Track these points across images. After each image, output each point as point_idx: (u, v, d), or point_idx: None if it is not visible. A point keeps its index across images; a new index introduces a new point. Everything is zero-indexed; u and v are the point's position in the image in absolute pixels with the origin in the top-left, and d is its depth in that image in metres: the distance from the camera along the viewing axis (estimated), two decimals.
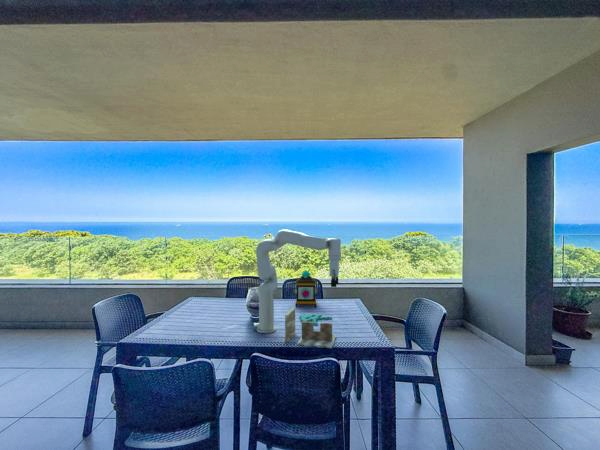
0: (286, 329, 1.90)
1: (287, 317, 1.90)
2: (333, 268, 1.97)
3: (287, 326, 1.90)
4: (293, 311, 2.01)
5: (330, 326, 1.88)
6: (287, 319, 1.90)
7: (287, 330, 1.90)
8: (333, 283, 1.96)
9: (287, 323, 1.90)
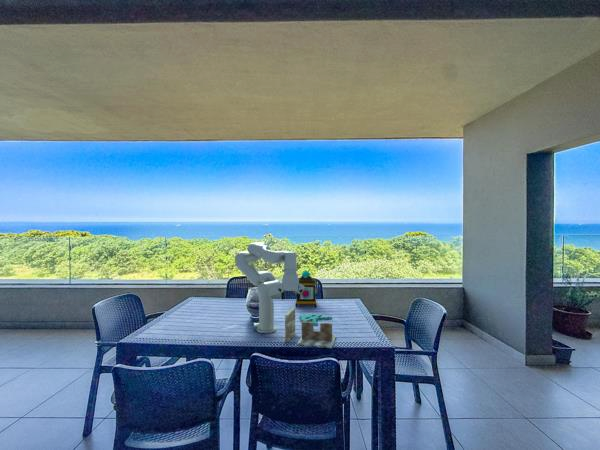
0: (286, 329, 1.90)
1: (287, 317, 1.90)
2: (298, 281, 1.97)
3: (287, 326, 1.90)
4: (293, 311, 2.01)
5: (330, 326, 1.88)
6: (287, 319, 1.90)
7: (287, 330, 1.90)
8: None
9: (287, 323, 1.90)
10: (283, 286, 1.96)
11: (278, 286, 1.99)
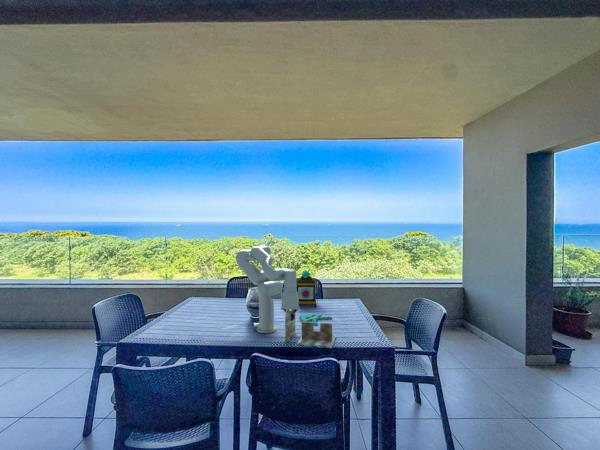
0: (286, 328, 1.90)
1: (287, 316, 1.90)
2: (298, 302, 1.97)
3: (287, 325, 1.90)
4: None
5: (330, 326, 1.88)
6: (287, 318, 1.90)
7: (287, 329, 1.90)
8: None
9: (287, 322, 1.90)
10: (283, 304, 1.96)
11: (282, 308, 1.99)
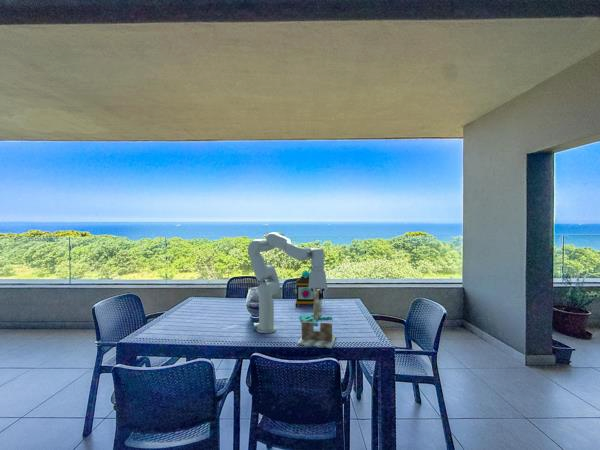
0: (314, 306, 1.86)
1: (316, 293, 1.87)
2: None
3: (316, 303, 1.86)
4: None
5: (330, 326, 1.88)
6: (316, 296, 1.87)
7: (315, 307, 1.86)
8: (321, 295, 1.94)
9: (316, 300, 1.86)
10: (310, 283, 1.92)
11: (309, 287, 1.95)
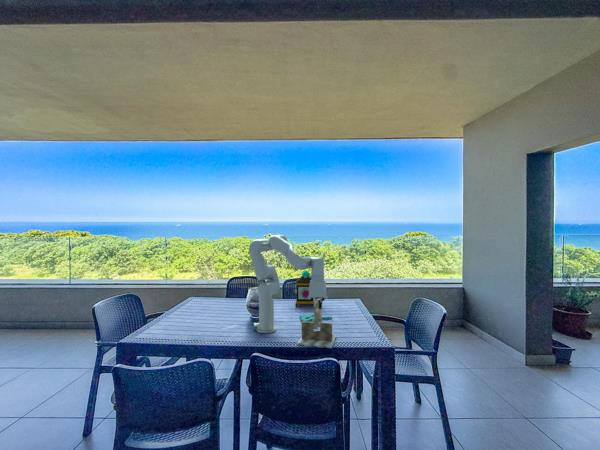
0: (315, 315, 1.86)
1: (316, 302, 1.87)
2: None
3: (316, 312, 1.86)
4: None
5: (330, 326, 1.88)
6: (316, 305, 1.87)
7: (316, 316, 1.86)
8: (321, 305, 1.93)
9: (316, 309, 1.86)
10: (310, 293, 1.92)
11: (309, 296, 1.95)
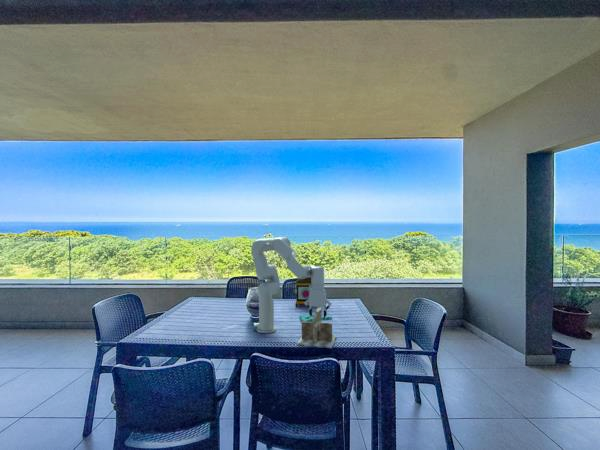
0: (314, 330, 1.85)
1: (315, 317, 1.85)
2: None
3: (315, 326, 1.85)
4: (320, 311, 1.96)
5: (330, 326, 1.88)
6: (315, 319, 1.85)
7: (315, 331, 1.85)
8: (326, 313, 1.93)
9: (315, 323, 1.85)
10: (310, 302, 1.92)
11: (305, 303, 1.95)
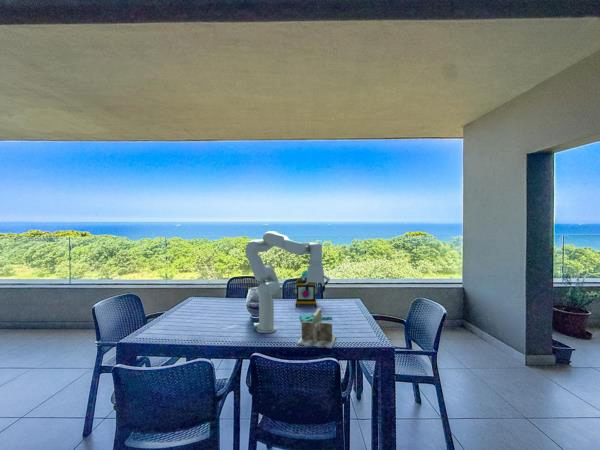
0: (314, 330, 1.85)
1: (315, 317, 1.85)
2: (323, 273, 1.95)
3: (315, 326, 1.85)
4: (320, 311, 1.96)
5: (330, 326, 1.88)
6: (315, 319, 1.85)
7: (315, 331, 1.85)
8: (324, 288, 1.95)
9: (315, 323, 1.85)
10: (308, 278, 1.95)
11: (303, 278, 1.98)
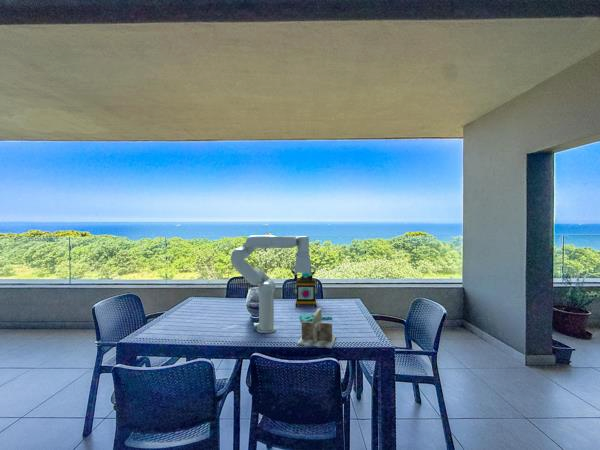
0: (314, 330, 1.85)
1: (315, 317, 1.85)
2: (310, 264, 2.09)
3: (315, 326, 1.85)
4: (320, 311, 1.96)
5: (330, 326, 1.88)
6: (315, 319, 1.85)
7: (315, 331, 1.85)
8: None
9: (315, 323, 1.85)
10: (296, 268, 2.08)
11: (291, 268, 2.11)
